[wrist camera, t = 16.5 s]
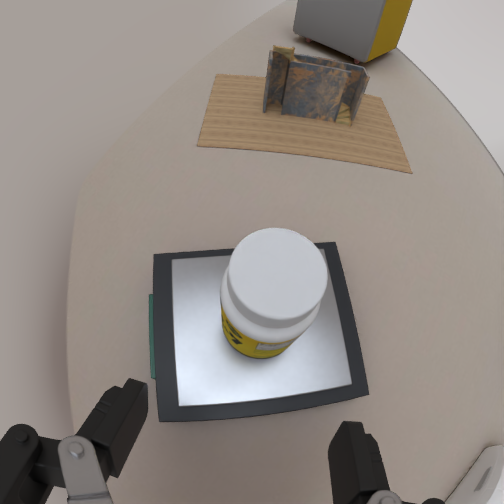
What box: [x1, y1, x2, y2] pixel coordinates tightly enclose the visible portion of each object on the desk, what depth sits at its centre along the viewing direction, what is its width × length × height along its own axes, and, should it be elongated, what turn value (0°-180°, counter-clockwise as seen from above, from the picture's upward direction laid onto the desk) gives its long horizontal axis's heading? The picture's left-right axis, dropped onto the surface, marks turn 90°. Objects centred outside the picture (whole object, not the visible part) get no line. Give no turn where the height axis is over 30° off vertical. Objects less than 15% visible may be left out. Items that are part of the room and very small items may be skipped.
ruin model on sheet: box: [197, 45, 412, 174], centre depth 31 cm, size 25×16×10 cm, turn 87°
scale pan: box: [172, 249, 352, 407], centre depth 20 cm, size 11×10×1 cm
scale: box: [149, 242, 369, 422], centre depth 21 cm, size 14×12×2 cm
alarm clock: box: [293, 0, 412, 64], centre depth 42 cm, size 20×16×18 cm
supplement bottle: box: [220, 228, 328, 360], centre depth 16 cm, size 5×5×8 cm
